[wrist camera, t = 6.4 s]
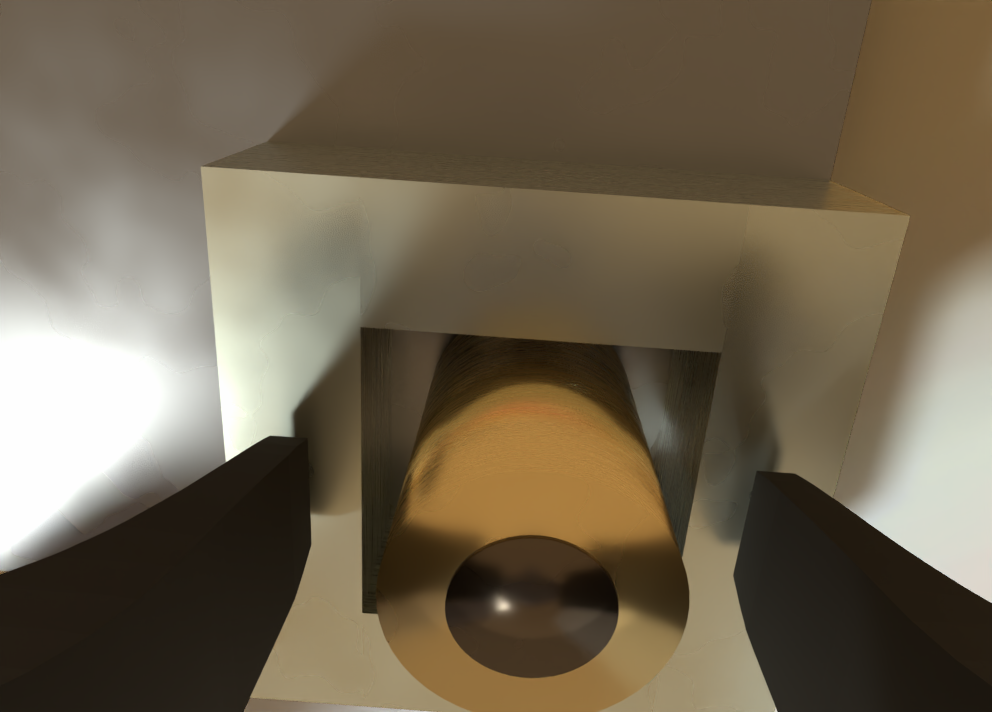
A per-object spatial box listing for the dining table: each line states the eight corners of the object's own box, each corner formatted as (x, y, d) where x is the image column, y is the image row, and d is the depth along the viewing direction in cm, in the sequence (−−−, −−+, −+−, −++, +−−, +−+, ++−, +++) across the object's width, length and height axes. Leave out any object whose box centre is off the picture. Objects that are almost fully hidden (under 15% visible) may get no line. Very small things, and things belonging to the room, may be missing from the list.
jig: (717, 595, 18) (767, 736, 14) (-110, 534, 18) (-271, 658, 15) (863, -69, 13) (1001, -116, 9) (-310, -148, 13) (-644, -224, 9)
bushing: (625, 486, 16) (679, 729, 10) (435, 486, 16) (387, 725, 10) (633, 305, 14) (703, 475, 9) (424, 308, 15) (360, 474, 9)
